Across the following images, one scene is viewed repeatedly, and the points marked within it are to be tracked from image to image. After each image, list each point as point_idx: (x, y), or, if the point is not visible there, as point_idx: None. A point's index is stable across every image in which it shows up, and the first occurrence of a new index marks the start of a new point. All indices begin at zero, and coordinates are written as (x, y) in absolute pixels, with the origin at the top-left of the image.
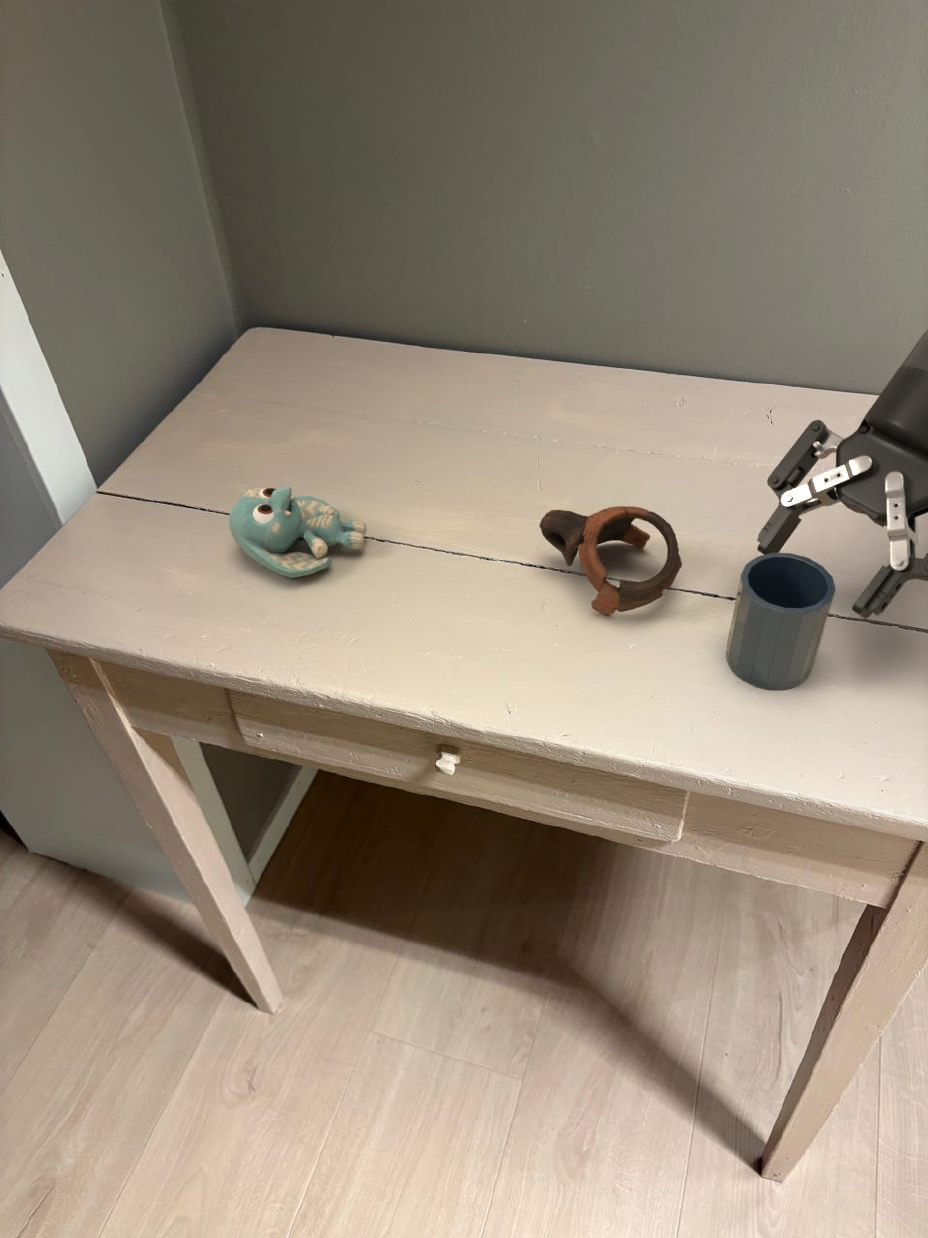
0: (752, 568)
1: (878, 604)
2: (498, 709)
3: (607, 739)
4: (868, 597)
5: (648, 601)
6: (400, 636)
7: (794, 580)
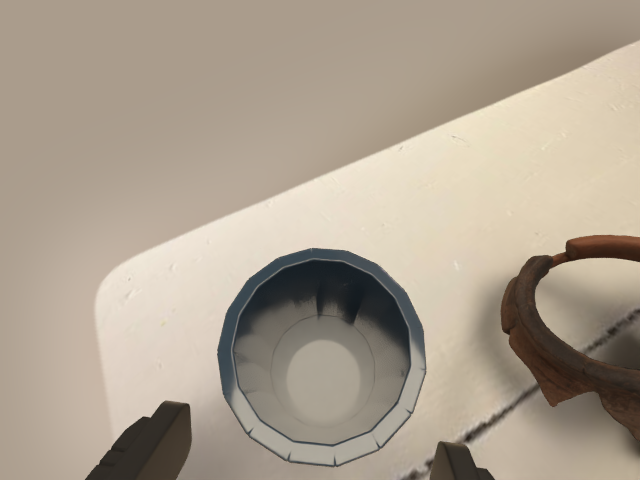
0: (406, 332)
1: (125, 437)
2: (462, 133)
3: (372, 165)
4: (146, 431)
5: (503, 304)
6: (600, 132)
7: (342, 433)
